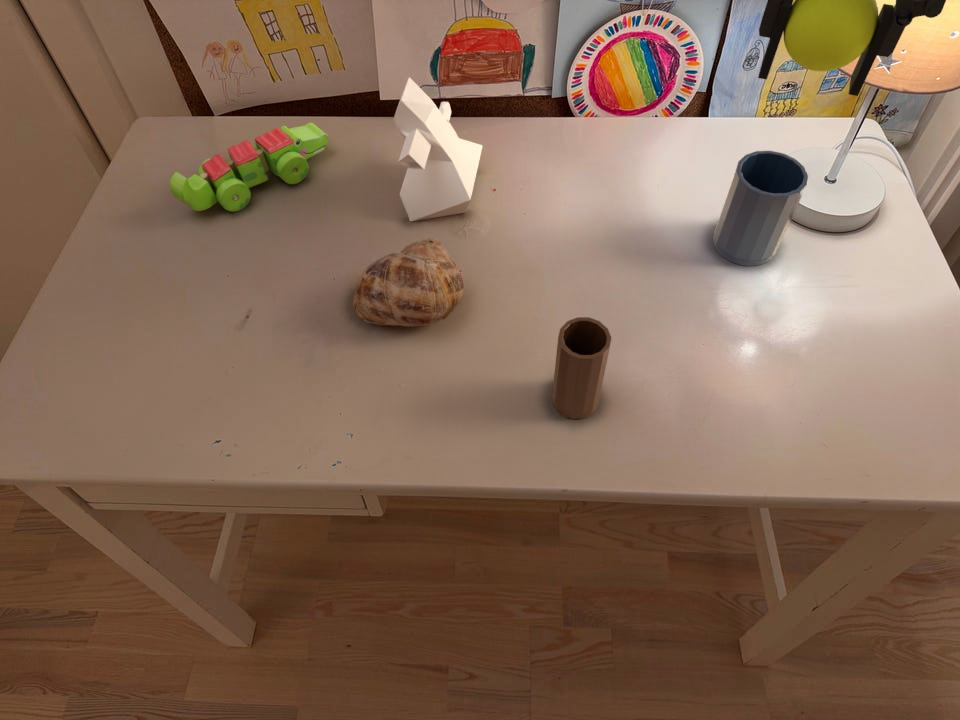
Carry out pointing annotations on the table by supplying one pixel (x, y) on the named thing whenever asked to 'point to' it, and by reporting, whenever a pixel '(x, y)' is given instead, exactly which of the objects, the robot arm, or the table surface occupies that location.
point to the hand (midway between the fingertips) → (808, 77)
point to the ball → (829, 32)
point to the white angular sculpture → (433, 158)
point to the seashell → (409, 286)
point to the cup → (759, 207)
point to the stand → (580, 366)
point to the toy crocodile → (250, 168)
